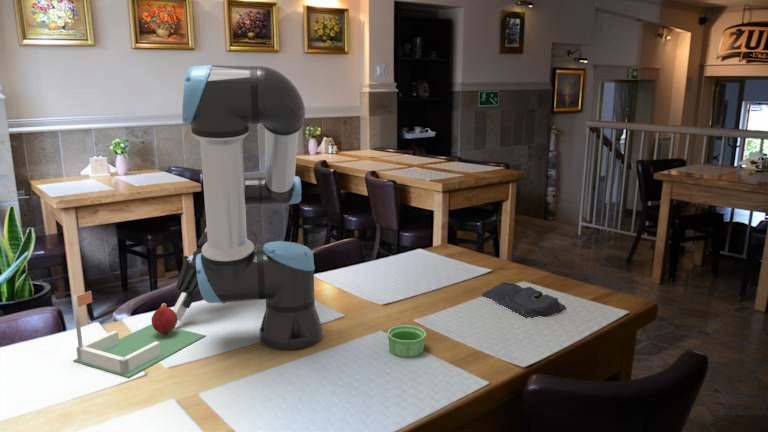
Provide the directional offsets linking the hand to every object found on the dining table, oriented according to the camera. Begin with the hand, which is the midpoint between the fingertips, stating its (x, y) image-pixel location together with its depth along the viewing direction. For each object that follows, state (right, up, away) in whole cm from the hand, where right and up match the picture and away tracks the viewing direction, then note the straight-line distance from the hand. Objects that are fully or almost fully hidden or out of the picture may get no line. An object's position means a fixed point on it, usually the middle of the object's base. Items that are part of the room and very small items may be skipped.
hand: (175, 318), depth 145 cm
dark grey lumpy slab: (+92, 0, +20) cm, 94 cm away
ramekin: (+58, -6, -10) cm, 59 cm away
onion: (-1, -4, -4) cm, 5 cm away
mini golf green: (-7, -6, -15) cm, 18 cm away
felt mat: (-4, -5, -10) cm, 12 cm away
